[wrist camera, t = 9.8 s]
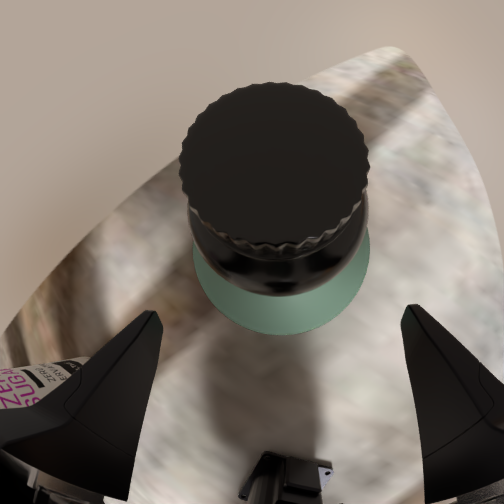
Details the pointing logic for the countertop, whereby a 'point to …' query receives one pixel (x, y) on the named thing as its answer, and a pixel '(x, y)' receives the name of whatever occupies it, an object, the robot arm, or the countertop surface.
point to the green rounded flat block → (284, 298)
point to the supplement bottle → (276, 188)
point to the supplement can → (34, 381)
